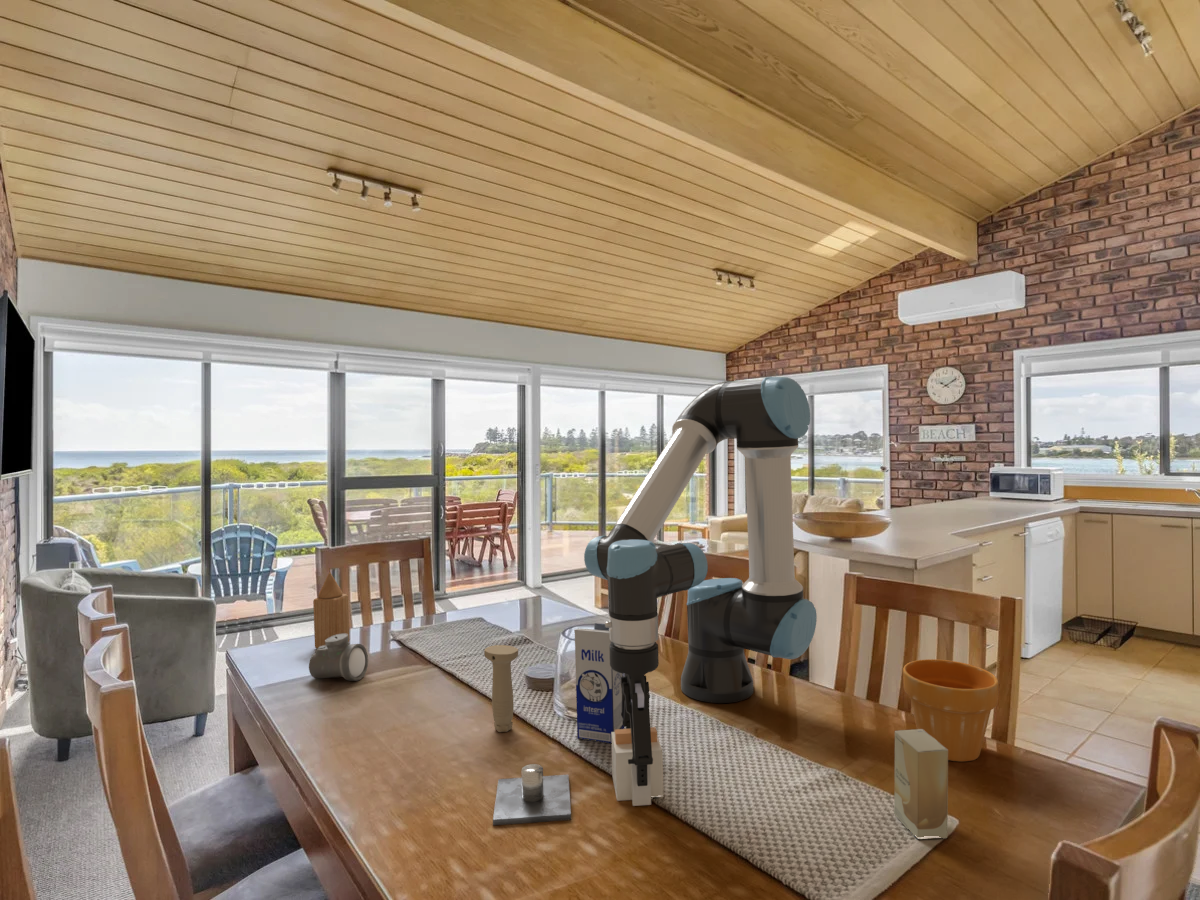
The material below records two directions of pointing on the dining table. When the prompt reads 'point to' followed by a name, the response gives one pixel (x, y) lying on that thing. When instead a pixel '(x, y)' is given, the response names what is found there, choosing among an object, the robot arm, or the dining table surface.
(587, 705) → the milk carton
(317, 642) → the decorative item
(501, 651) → the handle
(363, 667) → the pipe fitting
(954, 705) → the flower pot
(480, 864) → the dining table surface
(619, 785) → the white block with peg
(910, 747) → the skincare box
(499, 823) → the post base
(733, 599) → the robot arm
